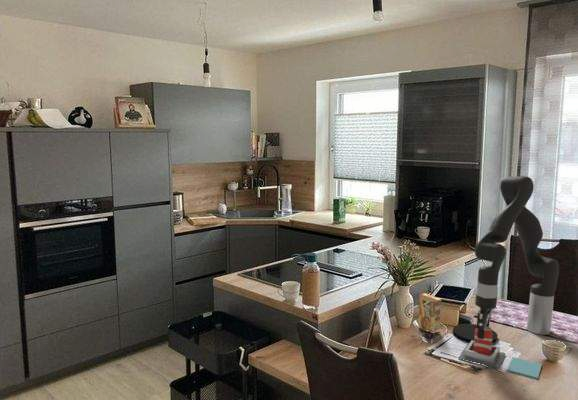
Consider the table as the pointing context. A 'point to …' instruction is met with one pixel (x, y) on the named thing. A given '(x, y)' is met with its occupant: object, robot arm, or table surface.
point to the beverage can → (483, 341)
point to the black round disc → (468, 332)
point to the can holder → (483, 356)
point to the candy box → (429, 312)
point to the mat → (524, 368)
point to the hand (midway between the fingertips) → (483, 334)
